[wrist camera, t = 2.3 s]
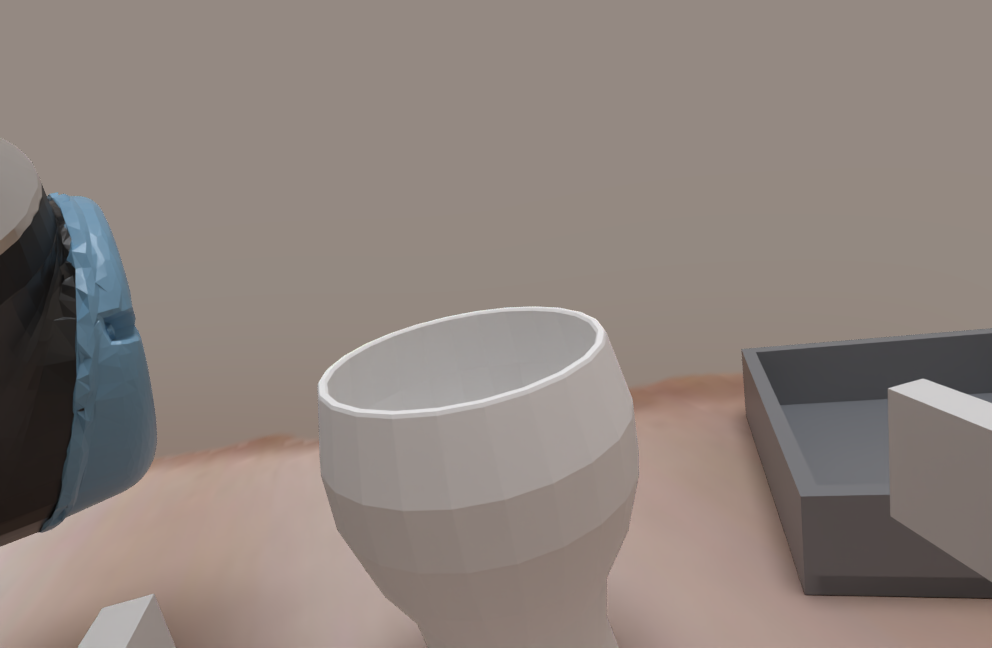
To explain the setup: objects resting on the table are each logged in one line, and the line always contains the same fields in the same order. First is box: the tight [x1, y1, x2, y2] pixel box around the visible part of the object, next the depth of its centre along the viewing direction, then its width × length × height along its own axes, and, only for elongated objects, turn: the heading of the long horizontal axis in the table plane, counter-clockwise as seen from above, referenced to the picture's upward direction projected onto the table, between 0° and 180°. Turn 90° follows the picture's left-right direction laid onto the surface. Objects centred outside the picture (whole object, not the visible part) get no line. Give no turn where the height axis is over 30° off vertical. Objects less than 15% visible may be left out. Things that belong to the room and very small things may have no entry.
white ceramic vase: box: [318, 307, 639, 648], centre depth 22 cm, size 11×11×15 cm
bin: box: [742, 328, 992, 598], centre depth 32 cm, size 18×18×5 cm
